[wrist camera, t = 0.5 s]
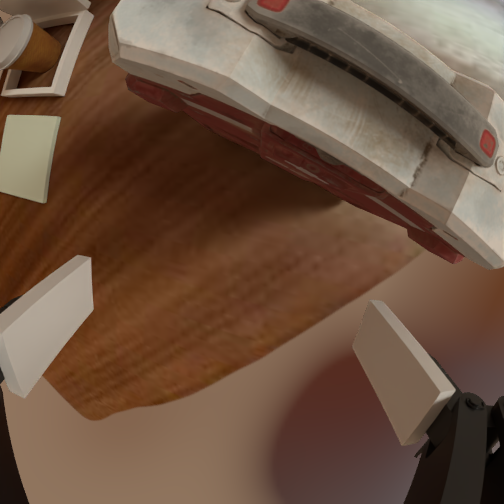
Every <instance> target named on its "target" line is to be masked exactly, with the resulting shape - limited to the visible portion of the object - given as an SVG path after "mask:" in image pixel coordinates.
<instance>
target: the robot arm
mask: <svg viewBox="0 0 504 504" xmlns="http://www.w3.org/2000/svg"><path fill="white" fill-rule="evenodd" d="M93 310H94V309H93V295H92V276H91V257H86V256H81V255H77V256H75V257H74V258H72V259H71V260H70V261H68V262H67V263H65V264H64V265H63V266H61V267H60V268H58V269H57V270H56V271H54V272H53V273H52V274H50V275H49V276H48V277H46V278H45V279H44V280H42V281H41V282H40V283H38V284H37V285H36V286H34V287H33V288H32V289H31V290H29V291H28V292H27V293H25V294H24V295H21V296H19V297H16V298H14V299H12V300H10V301H9V302H8V303H7V304H5V305H4V307H2V308H1V309H0V384H1V382H2V381H3V380H4V379H5V381H6V384H7V386H8V388H9V391H11V392H13V393H14V394H16V395H18V396H21V397H23V398H26V397H27V395H28V394H29V392H30V391H31V389H32V388H33V387H34V385H35V384H36V382H37V381H38V380H39V378H40V377H41V375H42V374H43V373H44V371H45V370H46V369H47V367H48V366H49V365H50V363H51V362H52V361H53V359H54V358H55V357H56V355H57V354H58V353H59V352H60V350H61V349H62V348H63V346H64V345H65V344H66V343H67V341H68V340H69V339H70V338H71V336H72V335H73V334H74V333H75V331H76V330H77V329H78V328H79V326H80V325H81V324H82V323H83V322H84V320H85V319H86V318H87V317H88V316H89V314H90V313H91V312H92V311H93ZM352 348H353V350H354V352H355V354H356V356H357V357H358V359H359V361H360V363H361V365H362V367H363V369H364V370H365V373H366V375H367V377H368V378H369V380H370V382H371V384H372V386H373V388H374V390H375V392H376V394H377V396H378V398H379V400H380V402H381V404H382V406H383V408H384V410H385V412H386V414H387V416H388V418H389V420H390V422H391V424H392V426H393V428H394V430H395V432H396V434H397V437H398V439H399V441H400V443H401V445H402V446H404V445H409V444H414V443H417V442H418V441H419V440H420V439H421V438H422V436H423V435H424V434H425V433H427V435H428V437H429V439H428V440H427V442H426V443H425V444H424V445H423V446H422V448H421V449H420V450H419V451H418V452H417V453H416V455H415V456H414V457H416V458H417V456H418V455H419V454H420V453H422V454H421V458H420V461H419V464H418V467H417V470H416V473H415V475H414V478H413V481H412V484H411V486H410V489H409V492H408V494H407V497H406V499H405V501H404V504H504V396H501V397H500V398H499V399H498V400H497V402H496V403H495V405H494V406H488V405H486V404H485V403H484V401H483V400H482V399H481V398H480V397H479V396H477V395H475V394H473V393H469V392H467V393H462V392H461V391H460V389H459V388H458V387H457V386H456V384H455V383H454V382H453V381H452V379H451V378H450V377H449V375H448V374H446V372H445V370H444V369H443V368H441V365H440V364H439V363H438V362H437V360H436V359H435V358H433V357H432V356H431V355H429V354H428V353H426V351H425V350H424V349H423V348H422V346H421V345H420V344H419V343H418V342H417V341H416V339H415V338H414V337H413V336H412V335H411V333H410V332H409V331H408V330H407V329H406V327H405V326H404V325H403V324H402V323H401V322H400V320H399V319H398V318H397V317H396V316H395V315H394V313H393V312H392V311H391V310H390V309H389V308H388V307H387V305H386V304H385V303H384V302H383V301H378V300H369V303H368V305H367V308H366V311H365V314H364V316H363V319H362V322H361V324H360V327H359V330H358V332H357V335H356V337H355V340H354V342H353V345H352ZM498 441H499V442H500V447H499V448H498V449H497V450H496V451H495V452H494V453H492V448H493V447H494V446H495V444H496V443H497V442H498ZM0 504H29V502H28V499H27V496H26V493H25V490H24V488H23V484H22V481H21V478H20V475H19V471H18V468H17V464H16V461H15V457H14V453H13V449H12V445H11V440H10V436H9V430H8V425H7V420H6V413H5V407H4V399H3V392H2V389H1V386H0Z"/></svg>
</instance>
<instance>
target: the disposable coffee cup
mask: <svg viewBox="0 0 504 504" xmlns="http://www.w3.org/2000/svg"><path fill="white" fill-rule="evenodd" d="M60 53H61V44H60V43H59V42H58V41H57V40H56V39H54V38H53V37H52V36H51V35H49V34H48V33H47V32H46V31H44V30H43V29H42V28H41V27H39V26H38V25H37V24H36V23H34V22H33V21H32V19H31V17H30V16H29V15H27V14H22V15H14V16H13V17H11V18H9V19H8V20H7V21H6V22H5V23H4V24H3V25H2V26H1V27H0V70H3V69H11V70H21V71H31V72H38V73H44V72H46V71H48V70H49V69H51V68H52V67H53V66H54V64H55V63H56V62H57V60H58V58H59V56H60Z"/></svg>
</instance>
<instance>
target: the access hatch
mask: <svg viewBox="0 0 504 504" xmlns="http://www.w3.org/2000/svg"><path fill="white" fill-rule="evenodd" d="M90 4H91V3H90V2H89V1H88V0H0V10H1V11H3V12H6V13H8V14H10V15H12V16H14V15H22V14H27V15H29V16H30V17H31V19H32V21H33V22H34V23H36V24H37V25H38V26H39V27H41V28H42V29H43V28H48V27H53V26H58V25H64V24H70V23H75V24H74V27H73V29H72V31H71V34H70V36H69V38H68V41H67V43H66V46H65V48H64V51H63V54H62V56H61V59H60V62H59V65H58V67H57V70H56V73H55V76H54V80H53V83H52V86H51V87H40V88H23V89H17V85H18V82H19V79H20V75H21V72H22V71H21V70H11V69H9V70H8V73H7V76H6V80H5V83H4V86H3V90H2V93H1V96H5V97H31V96H65V92H66V89H67V86H68V83H69V79H70V76H71V73H72V70H73V67H74V64H75V62H76V59H77V56H78V53H79V51H80V48H81V46H82V43H83V41H84V38H85V36H86V33H87V31H88V29H89V26H90V24H91V22H92V20H93V17H94V15H92V14H91V13H90V12H89V11H87V10H86V9H88V8H89V6H90ZM3 24H4V23H3V21H2V19H1V17H0V27H1V26H2V25H3Z"/></svg>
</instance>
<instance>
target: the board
mask: <svg viewBox="0 0 504 504" xmlns="http://www.w3.org/2000/svg"><path fill="white" fill-rule="evenodd" d="M60 119H61V117H57V116H34V115H7V120H6V124H5V129H4V134H3V140H2V146H1V152H0V192H3V193H7V194H11V195H14V196H18V197H22V198H25V199H29V200H33V201H36V202H40V203H46V202H47V194H48V186H49V178H50V171H51V164H52V158H53V153H54V147H55V142H56V137H57V133H58V128H59V124H60Z"/></svg>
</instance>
